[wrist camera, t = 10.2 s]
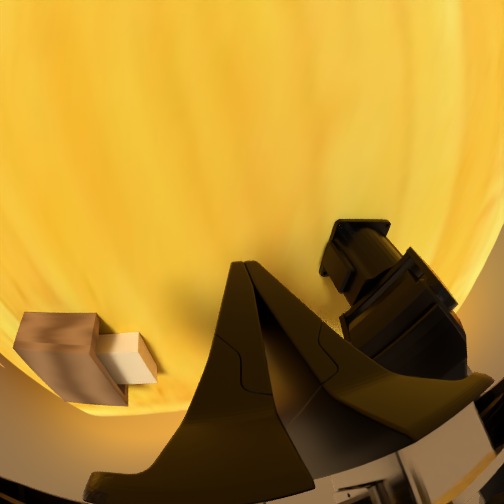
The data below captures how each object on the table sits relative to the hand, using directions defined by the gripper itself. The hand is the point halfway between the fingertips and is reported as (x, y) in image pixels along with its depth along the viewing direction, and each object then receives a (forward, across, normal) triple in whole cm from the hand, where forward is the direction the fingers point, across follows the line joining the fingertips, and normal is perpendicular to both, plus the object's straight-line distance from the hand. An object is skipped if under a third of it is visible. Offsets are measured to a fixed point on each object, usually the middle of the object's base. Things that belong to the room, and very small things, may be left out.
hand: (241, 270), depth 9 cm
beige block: (+11, +13, +23) cm, 29 cm away
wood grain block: (+11, +17, +22) cm, 30 cm away
